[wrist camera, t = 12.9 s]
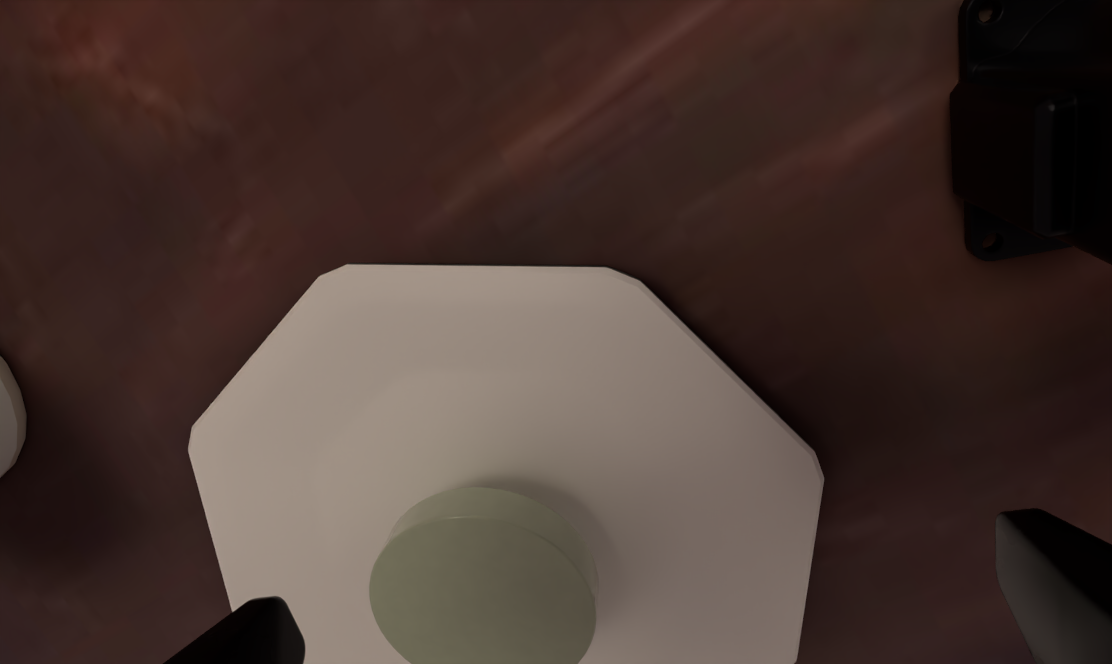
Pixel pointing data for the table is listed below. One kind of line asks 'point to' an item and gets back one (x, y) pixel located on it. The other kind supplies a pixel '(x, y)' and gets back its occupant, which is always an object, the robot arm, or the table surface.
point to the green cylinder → (485, 582)
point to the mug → (10, 419)
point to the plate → (511, 455)
